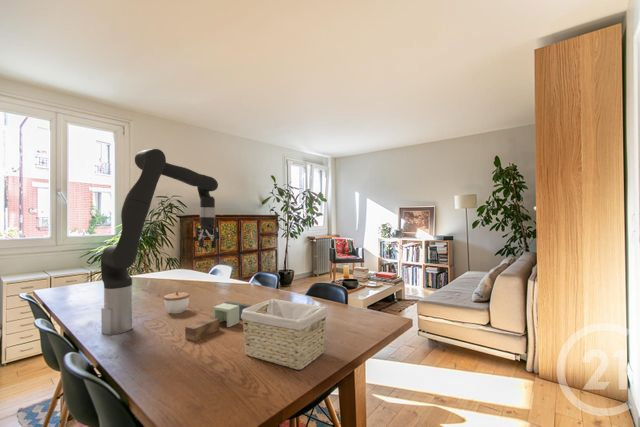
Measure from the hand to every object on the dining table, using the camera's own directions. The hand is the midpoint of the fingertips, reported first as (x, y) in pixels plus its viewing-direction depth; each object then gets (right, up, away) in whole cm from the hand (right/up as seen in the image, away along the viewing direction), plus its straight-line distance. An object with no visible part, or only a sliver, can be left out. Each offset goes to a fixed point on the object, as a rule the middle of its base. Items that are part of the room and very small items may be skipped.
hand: (207, 247), depth 157 cm
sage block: (+20, -27, -32) cm, 46 cm away
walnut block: (+14, -28, -43) cm, 53 cm away
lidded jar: (-9, -28, -15) cm, 33 cm away
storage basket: (+47, -27, -60) cm, 81 cm away
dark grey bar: (+24, -28, -23) cm, 44 cm away
